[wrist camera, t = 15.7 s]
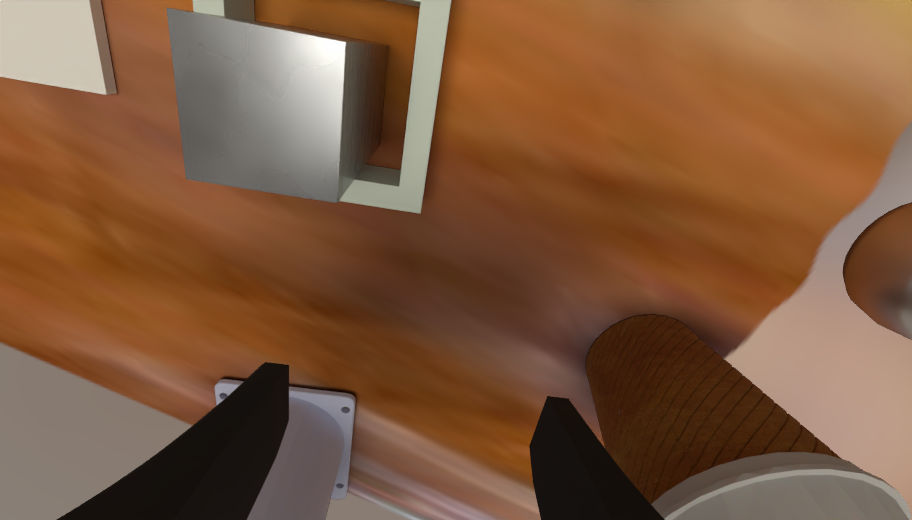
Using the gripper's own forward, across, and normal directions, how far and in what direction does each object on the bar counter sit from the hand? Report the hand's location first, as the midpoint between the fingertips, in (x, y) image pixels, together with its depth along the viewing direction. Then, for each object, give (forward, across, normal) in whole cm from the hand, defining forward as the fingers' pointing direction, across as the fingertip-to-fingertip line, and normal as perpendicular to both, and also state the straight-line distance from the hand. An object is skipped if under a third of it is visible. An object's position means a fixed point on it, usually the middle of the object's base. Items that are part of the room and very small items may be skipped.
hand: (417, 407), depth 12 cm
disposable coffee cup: (+11, -13, +5) cm, 18 cm away
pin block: (+10, +5, -7) cm, 13 cm away
